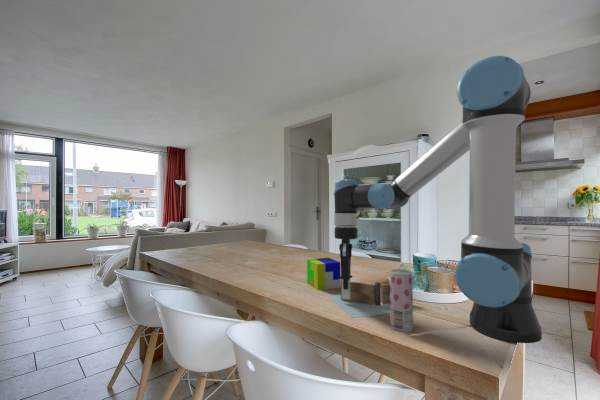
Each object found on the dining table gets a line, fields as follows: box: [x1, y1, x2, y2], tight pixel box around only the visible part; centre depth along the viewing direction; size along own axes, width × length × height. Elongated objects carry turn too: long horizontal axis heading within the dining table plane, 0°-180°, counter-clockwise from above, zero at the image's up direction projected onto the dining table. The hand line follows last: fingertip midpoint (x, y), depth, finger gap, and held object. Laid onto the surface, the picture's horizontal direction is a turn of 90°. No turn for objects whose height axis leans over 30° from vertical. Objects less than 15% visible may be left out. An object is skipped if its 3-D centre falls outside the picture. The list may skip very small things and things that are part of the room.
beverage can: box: [389, 268, 414, 333], centre depth 74 cm, size 6×6×15 cm
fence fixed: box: [380, 282, 390, 304], centre depth 91 cm, size 8×2×7 cm, turn 105°
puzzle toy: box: [306, 257, 341, 291], centre depth 113 cm, size 10×10×10 cm
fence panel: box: [340, 279, 381, 306], centre depth 92 cm, size 13×2×7 cm, turn 65°
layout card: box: [327, 293, 418, 319], centre depth 92 cm, size 20×22×1 cm
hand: (346, 298), depth 91 cm, fingers closed
